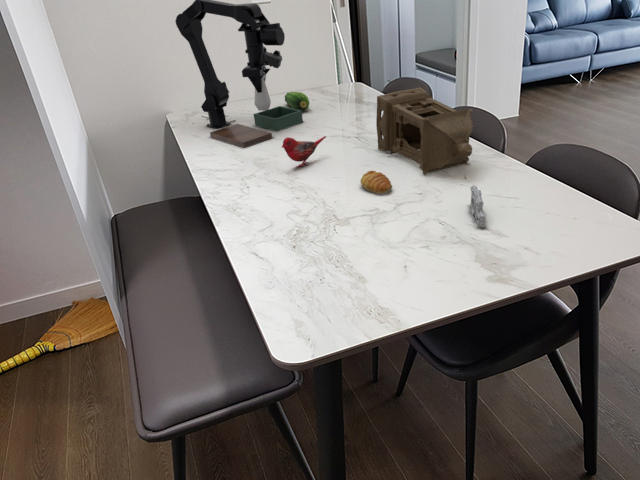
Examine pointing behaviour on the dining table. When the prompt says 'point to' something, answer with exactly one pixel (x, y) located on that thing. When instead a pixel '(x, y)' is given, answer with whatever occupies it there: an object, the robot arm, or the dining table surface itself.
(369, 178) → the pastry
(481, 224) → the garden wall model
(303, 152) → the decorative bird figurine
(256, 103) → the salt shaker
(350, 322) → the dining table surface
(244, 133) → the serving board
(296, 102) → the vegetable
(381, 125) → the brown lantern
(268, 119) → the green square tray
